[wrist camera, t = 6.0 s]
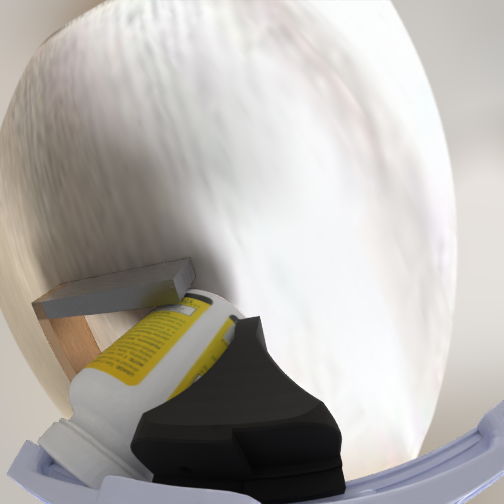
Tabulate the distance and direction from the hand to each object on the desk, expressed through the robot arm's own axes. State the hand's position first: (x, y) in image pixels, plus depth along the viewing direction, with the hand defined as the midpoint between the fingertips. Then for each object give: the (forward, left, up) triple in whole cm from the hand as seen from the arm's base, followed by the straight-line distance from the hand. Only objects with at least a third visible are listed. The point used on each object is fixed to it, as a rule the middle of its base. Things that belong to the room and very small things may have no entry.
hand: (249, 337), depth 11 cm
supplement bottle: (-1, +2, -2) cm, 3 cm away
